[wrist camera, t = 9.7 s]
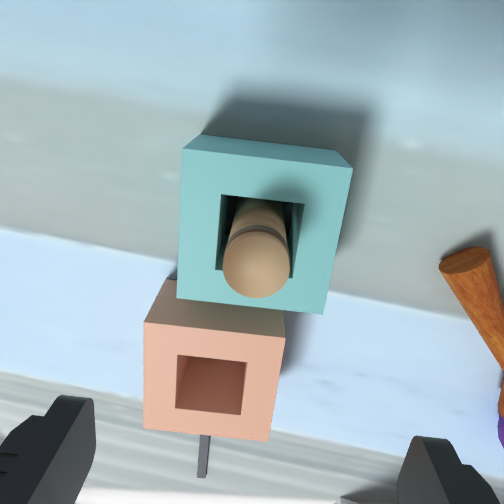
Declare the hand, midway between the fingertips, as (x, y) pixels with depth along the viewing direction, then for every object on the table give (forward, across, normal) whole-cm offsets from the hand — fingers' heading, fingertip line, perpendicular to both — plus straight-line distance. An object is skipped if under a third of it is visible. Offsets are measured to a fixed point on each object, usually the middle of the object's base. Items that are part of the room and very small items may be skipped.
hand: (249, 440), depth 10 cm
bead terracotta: (+20, +2, +11) cm, 23 cm away
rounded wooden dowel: (+20, 0, 0) cm, 20 cm away
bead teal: (+20, 0, 0) cm, 20 cm away
